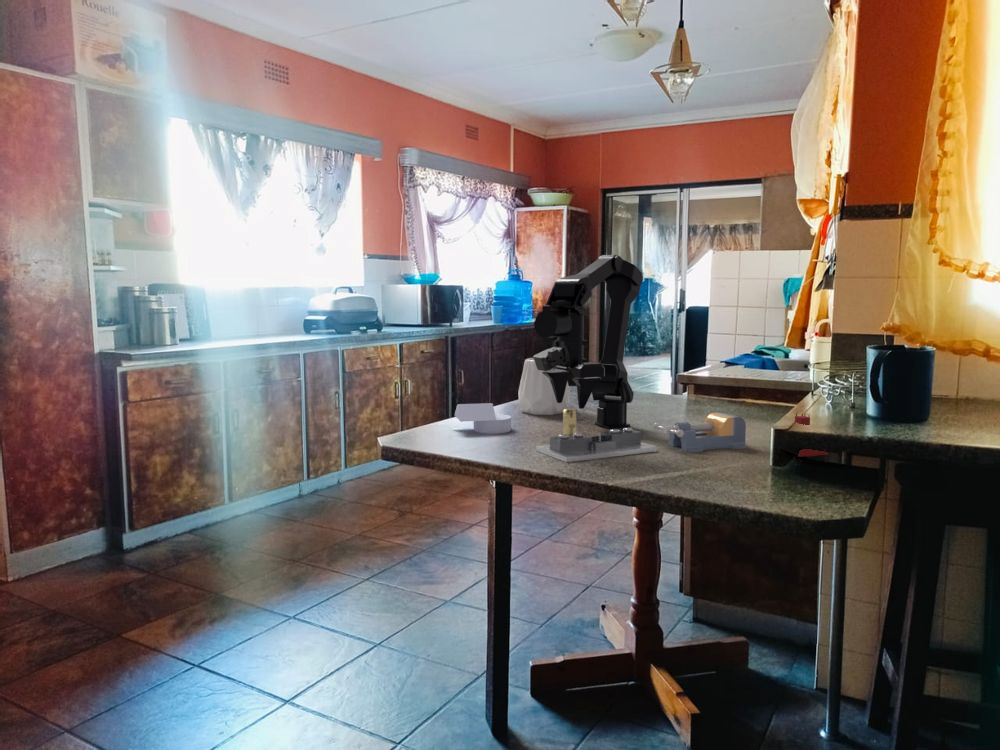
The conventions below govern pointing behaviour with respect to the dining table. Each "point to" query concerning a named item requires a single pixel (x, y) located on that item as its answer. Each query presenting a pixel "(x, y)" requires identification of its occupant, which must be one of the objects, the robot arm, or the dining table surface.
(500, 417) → the wedge on round base
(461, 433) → the dining table surface
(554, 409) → the vase
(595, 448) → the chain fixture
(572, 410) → the pin
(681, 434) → the vise
